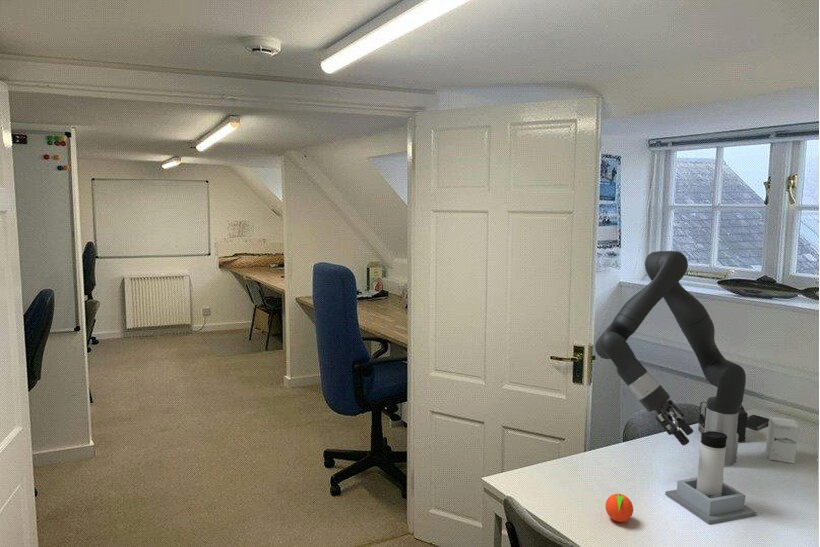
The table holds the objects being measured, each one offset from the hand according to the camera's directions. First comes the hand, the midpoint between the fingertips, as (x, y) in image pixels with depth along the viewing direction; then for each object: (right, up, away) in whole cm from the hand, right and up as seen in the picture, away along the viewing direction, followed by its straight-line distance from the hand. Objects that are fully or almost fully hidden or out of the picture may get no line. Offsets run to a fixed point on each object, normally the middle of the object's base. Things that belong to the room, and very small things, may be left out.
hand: (688, 438), depth 167 cm
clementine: (-23, -19, -10) cm, 32 cm away
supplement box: (+44, -15, +30) cm, 56 cm away
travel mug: (+5, -17, -1) cm, 18 cm away
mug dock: (+5, -18, -1) cm, 19 cm away
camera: (+33, -13, +48) cm, 60 cm away
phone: (+53, -12, +61) cm, 82 cm away
